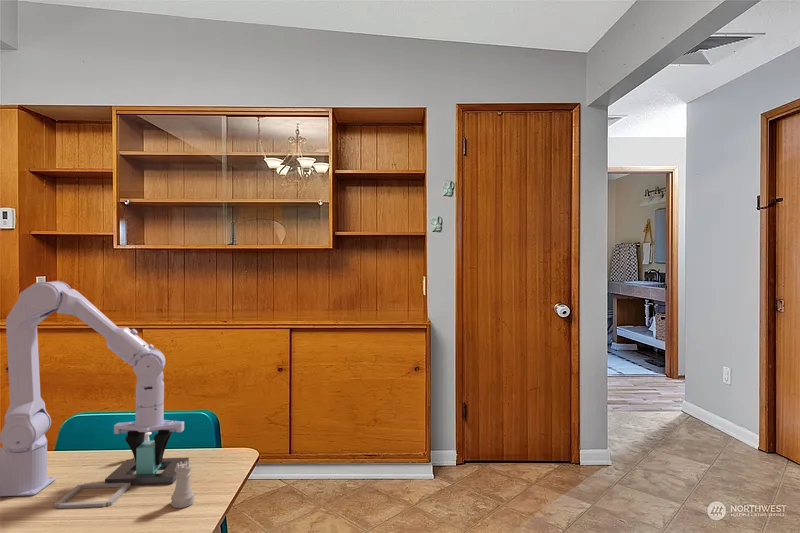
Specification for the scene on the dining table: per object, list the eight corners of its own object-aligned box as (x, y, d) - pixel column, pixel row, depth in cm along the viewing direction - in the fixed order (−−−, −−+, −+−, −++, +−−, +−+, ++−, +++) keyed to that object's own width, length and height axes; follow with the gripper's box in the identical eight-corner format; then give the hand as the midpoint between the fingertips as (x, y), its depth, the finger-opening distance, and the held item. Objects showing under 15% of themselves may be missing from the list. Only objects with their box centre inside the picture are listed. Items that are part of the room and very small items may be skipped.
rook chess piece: (185, 510, 96) (186, 469, 96) (165, 507, 97) (165, 466, 97) (199, 499, 100) (199, 460, 100) (179, 497, 101) (180, 458, 101)
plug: (136, 475, 109) (136, 448, 109) (144, 466, 114) (145, 440, 114) (153, 474, 110) (153, 447, 110) (161, 466, 115) (161, 440, 115)
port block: (104, 486, 106) (104, 479, 106) (127, 465, 117) (127, 459, 117) (172, 483, 108) (172, 476, 108) (188, 463, 118) (188, 457, 118)
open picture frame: (52, 508, 96) (52, 505, 96) (79, 486, 106) (79, 483, 106) (110, 506, 97) (110, 503, 97) (131, 484, 107) (131, 481, 107)
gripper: (107, 409, 107) (106, 472, 107) (177, 408, 109) (176, 469, 109) (122, 401, 114) (121, 459, 114) (187, 399, 116) (186, 457, 116)
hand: (149, 463), depth 112 cm, fingers closed on plug, 3 cm apart
